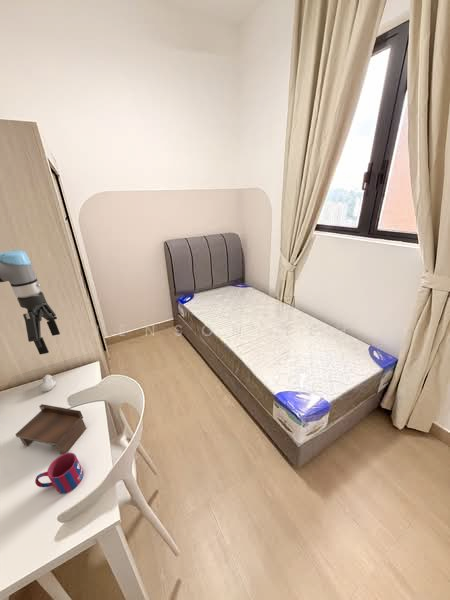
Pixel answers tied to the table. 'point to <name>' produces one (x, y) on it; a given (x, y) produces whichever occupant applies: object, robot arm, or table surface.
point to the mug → (63, 473)
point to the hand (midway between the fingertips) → (50, 343)
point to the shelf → (54, 428)
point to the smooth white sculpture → (47, 383)
